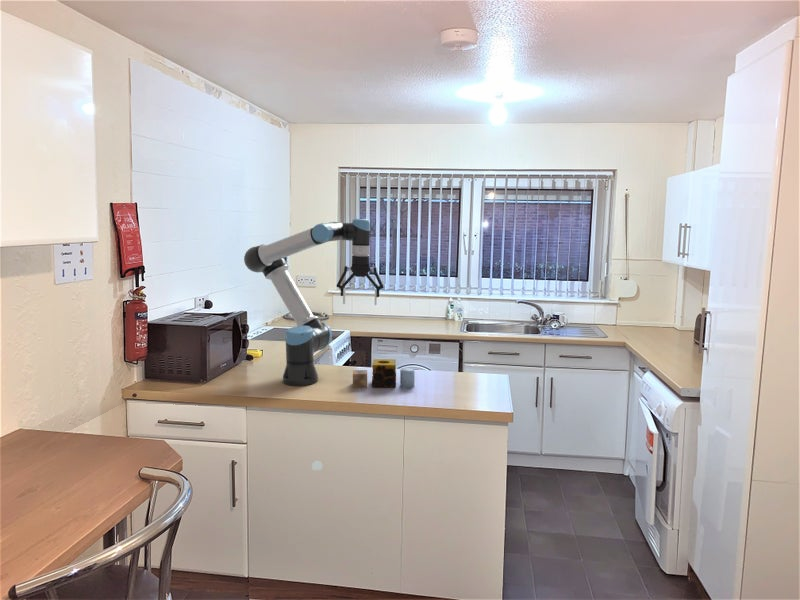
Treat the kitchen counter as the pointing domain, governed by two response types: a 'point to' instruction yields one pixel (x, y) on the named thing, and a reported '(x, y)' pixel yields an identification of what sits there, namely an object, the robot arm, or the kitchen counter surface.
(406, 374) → the blue cylinder
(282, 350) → the kitchen counter surface
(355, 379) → the brown jar
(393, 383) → the candle
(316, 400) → the kitchen counter surface
